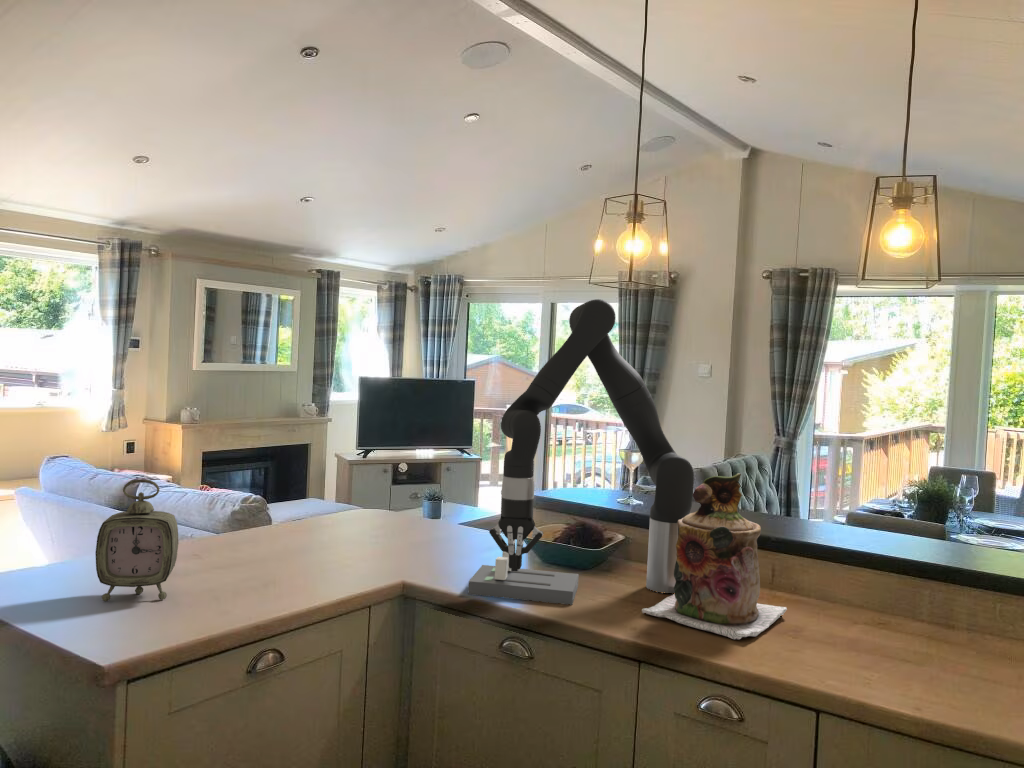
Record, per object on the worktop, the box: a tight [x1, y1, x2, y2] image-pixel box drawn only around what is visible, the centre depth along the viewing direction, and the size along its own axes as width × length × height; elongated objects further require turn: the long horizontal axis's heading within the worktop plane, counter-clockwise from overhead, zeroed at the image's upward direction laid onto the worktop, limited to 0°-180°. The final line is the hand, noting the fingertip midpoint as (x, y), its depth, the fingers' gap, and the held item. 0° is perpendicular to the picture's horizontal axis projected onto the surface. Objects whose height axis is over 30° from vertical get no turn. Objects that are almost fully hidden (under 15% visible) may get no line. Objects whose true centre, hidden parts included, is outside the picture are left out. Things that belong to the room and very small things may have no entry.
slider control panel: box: [467, 564, 580, 606], centre depth 176 cm, size 24×15×3 cm, turn 80°
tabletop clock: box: [95, 478, 179, 602], centre depth 157 cm, size 14×9×25 cm, turn 105°
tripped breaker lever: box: [494, 556, 508, 580], centre depth 173 cm, size 2×3×4 cm
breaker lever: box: [501, 551, 511, 571], centre depth 181 cm, size 2×3×4 cm
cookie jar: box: [641, 473, 788, 640], centre depth 164 cm, size 25×25×32 cm
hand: (514, 570), depth 172 cm, fingers closed
